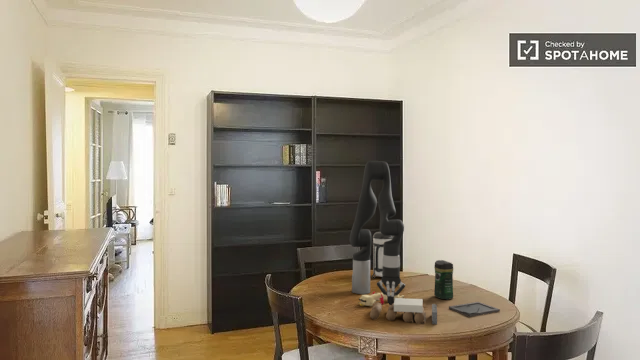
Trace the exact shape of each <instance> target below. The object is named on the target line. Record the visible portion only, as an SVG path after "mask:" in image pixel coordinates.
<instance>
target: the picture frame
mask: <svg viewBox="0 0 640 360" xmlns="http://www.w3.org/2000/svg"><path fill="white" fill-rule="evenodd" d="M448 310H452V311H453V312H456V313H458V314H461V315H463V316H466V317H469V318H473V317H476V316H477V317H478V316H482V315H483V314H484V315H488V313H489V314H493V313H492V312H495V313H499V312H498V311H500V312H501V309H500V308H497V307H494V306H492V305H489V304H486V303H483V302H481V301H475V302H468V303H462V304H455V305H451V306H448Z"/></svg>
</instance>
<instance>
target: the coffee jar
mask: <svg viewBox="0 0 640 360" xmlns="http://www.w3.org/2000/svg"><path fill="white" fill-rule="evenodd" d="M453 273H454V263H452V262H450V261H446V260H442V259H441V260H440V259H438V260H436V261H435V262H434V291H433V292H434V297H436V298H438V299H441V300H451V299H454V278H453V276H454V274H453Z"/></svg>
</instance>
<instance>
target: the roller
mask: <svg viewBox="0 0 640 360" xmlns="http://www.w3.org/2000/svg"><path fill="white" fill-rule="evenodd" d="M424 312H425V308H424V307H423V313H419V312H414V320H413V321H414V322H415V323H416V324H424Z"/></svg>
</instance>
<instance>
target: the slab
mask: <svg viewBox="0 0 640 360" xmlns="http://www.w3.org/2000/svg"><path fill="white" fill-rule="evenodd" d="M393 304H394V311H396V312H399V313H404V312H414V313H415V312H419V313H423V308H424V306H423V304H424V301H423V298H405V297H404V298H395V300H394V303H393Z"/></svg>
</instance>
